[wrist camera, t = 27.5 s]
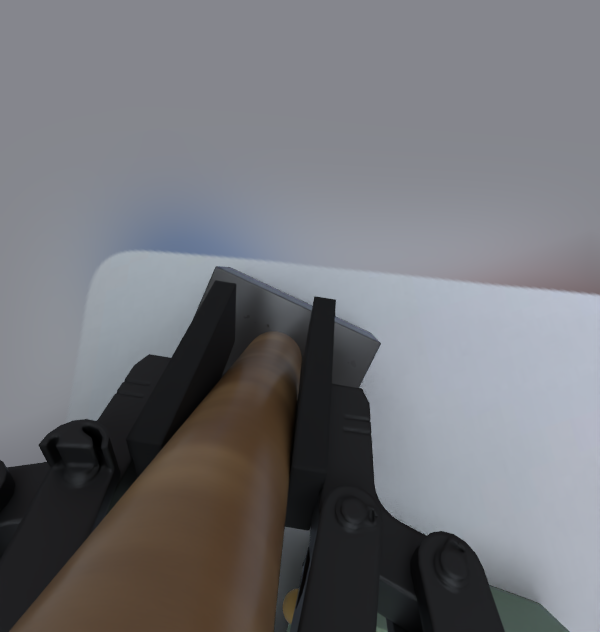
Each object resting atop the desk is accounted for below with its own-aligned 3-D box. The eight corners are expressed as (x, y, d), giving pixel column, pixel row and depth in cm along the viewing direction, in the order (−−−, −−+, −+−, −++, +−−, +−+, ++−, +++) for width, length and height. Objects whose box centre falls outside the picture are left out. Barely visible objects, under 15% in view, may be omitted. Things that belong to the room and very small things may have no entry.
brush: (188, 359, 22) (-1125, 1310, 2) (229, 266, 21) (-1222, 191, 1) (326, 423, 22) (477, 1878, 2) (371, 333, 21) (1269, 1252, 1)
